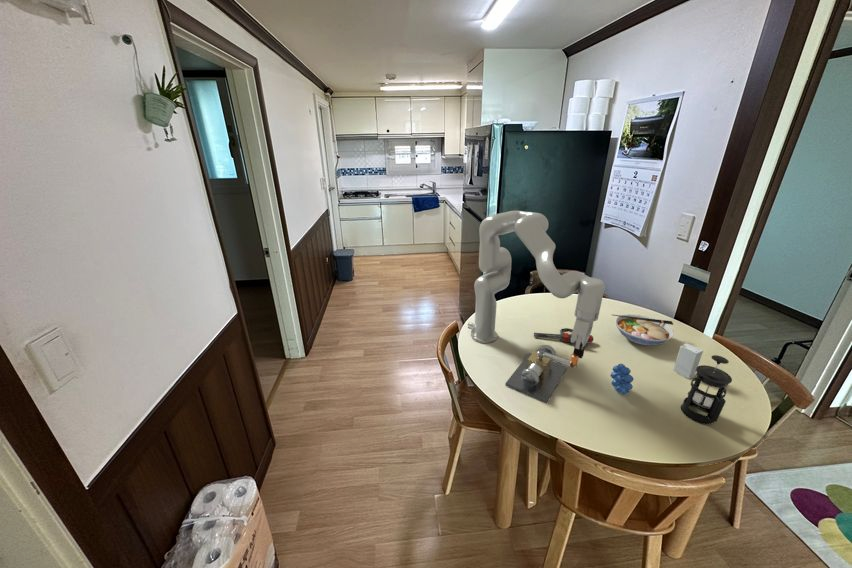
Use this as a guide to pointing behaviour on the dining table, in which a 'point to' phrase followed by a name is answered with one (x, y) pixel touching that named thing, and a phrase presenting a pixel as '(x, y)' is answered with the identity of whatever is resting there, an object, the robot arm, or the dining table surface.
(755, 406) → the dining table surface
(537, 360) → the valve body
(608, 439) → the dining table surface
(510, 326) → the dining table surface
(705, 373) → the french press
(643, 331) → the ramen bowl
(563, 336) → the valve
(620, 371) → the grapes
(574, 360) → the lever
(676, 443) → the dining table surface
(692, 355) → the skincare box
